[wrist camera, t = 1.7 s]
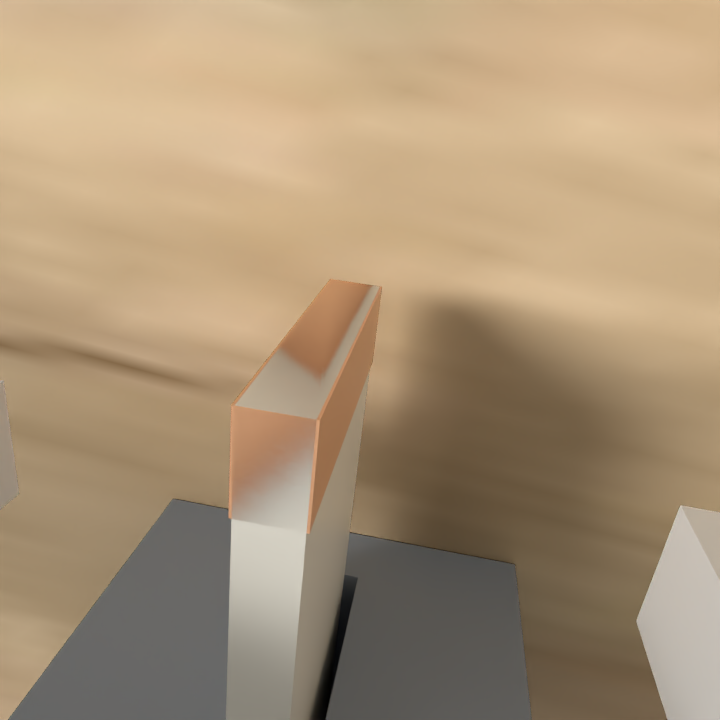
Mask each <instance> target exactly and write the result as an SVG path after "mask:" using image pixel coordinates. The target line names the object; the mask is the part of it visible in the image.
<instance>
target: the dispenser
mask: <svg viewBox="0 0 720 720" xmlns="http://www.w3.org/2000/svg"><path fill="white" fill-rule="evenodd" d="M228 513H229V509H223V508H218V507H213V506H208V505H203V504H197V503H192V502H187V501H182V500H176V499H173V500H172V501H171V502H170V504H169V505H168V506H167V508H166V509H165V510H164V512H163V513H162V514H161V516H160V517H159V518H158V520H157V521H156V522H155V524H154V525H153V526H152V528H151V529H150V530H149V532H148V533H147V534H146V536H145V537H144V538H143V540H142V541H141V542H140V544H139V545H138V546H137V548H136V549H135V550H134V552H133V553H132V554H131V556H130V557H129V558H128V560H127V561H126V562H125V564H124V565H123V566H122V568H121V569H120V570H119V572H118V573H117V575H116V576H115V577H114V579H113V580H112V581H111V583H110V584H109V585H108V587H107V588H106V589H105V591H104V592H103V593H102V595H101V596H100V597H99V599H98V600H97V601H96V603H95V604H94V605H93V607H92V608H91V609H90V611H89V612H88V613H87V615H86V616H85V617H84V619H83V620H82V621H81V623H80V624H79V625H78V627H77V628H76V629H75V631H74V632H73V633H72V635H71V636H70V637H69V639H68V640H67V641H66V643H65V644H64V645H63V647H62V648H61V649H60V651H59V652H58V653H57V655H56V656H55V658H54V659H53V660H52V662H51V663H50V664H49V666H48V667H47V668H46V670H45V671H44V672H43V674H42V675H41V676H40V678H39V679H38V680H37V682H36V683H35V684H34V686H33V687H32V688H31V690H30V691H29V692H28V694H27V695H26V696H25V698H24V699H23V700H22V702H21V703H20V704H19V706H18V707H17V708H16V710H15V711H14V712H13V714H12V715H11V716H10V718H9V719H8V720H226V698H227V662H228V626H229V589H230V553H231V519H230V518H228ZM326 720H532V717H531V708H530V699H529V689H528V680H527V671H526V662H525V652H524V643H523V634H522V625H521V615H520V606H519V597H518V588H517V578H516V569H515V564H510V563H505V562H500V561H494V560H489V559H484V558H479V557H474V556H468V555H463V554H458V553H453V552H447V551H442V550H437V549H432V548H427V547H421V546H416V545H411V544H406V543H401V542H395V541H390V540H385V539H380V538H375V537H369V536H364V535H359V534H354V533H349V542H348V550H347V558H346V566H345V574H344V582H343V590H342V598H341V606H340V614H339V622H338V631H337V639H336V647H335V655H334V663H333V671H332V679H331V687H330V695H329V703H328V711H327V716H326Z"/></svg>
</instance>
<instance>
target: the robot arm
mask: <svg viewBox="0 0 720 720" xmlns="http://www.w3.org/2000/svg"><path fill="white" fill-rule="evenodd" d="M18 494H19V487H18V480H17V473H16V466H15V458H14V451H13V444H12V437H11V429H10V422H9V415H8V408H7V400H6V393H5V386H4V381H2V380H0V510H1V509H2V508H3V507H4V506H5V505H7V504H8V503H9V502H10V501H11V500H13V499H14V498H15V497H16V496H17V495H18ZM636 622H637V625H638V629H639V632H640V635H641V638H642V641H643V644H644V647H645V651H646V654H647V657H648V660H649V663H650V666H651V670H652V673H653V676H654V679H655V682H656V685H657V689H658V692H659V695H660V698H661V701H662V704H663V708H664V711H665V714H666V717H667V720H720V512H715V511H710V510H705V509H699V508H694V507H688V506H683V505H680V507H679V510H678V513H677V515H676V518H675V520H674V523H673V526H672V528H671V531H670V534H669V536H668V539H667V541H666V544H665V547H664V549H663V552H662V555H661V557H660V560H659V562H658V565H657V568H656V570H655V573H654V575H653V578H652V581H651V583H650V586H649V589H648V591H647V594H646V596H645V599H644V602H643V604H642V607H641V609H640V612H639V615H638V617H637V620H636Z"/></svg>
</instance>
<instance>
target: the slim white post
mask: <svg viewBox="0 0 720 720" xmlns="http://www.w3.org/2000/svg"><path fill="white" fill-rule="evenodd" d="M381 291H382V287H380V286H373V285H366V284H360V283H353V282H346V281H340V280H333V279H330V280H329V281H328V283H327V284H326V285H325V286H324V288H323V289H322V290H321V291H320V293H319V294H318V295H317V297H316V298H315V299H314V300H313V302H312V303H311V304H310V305H309V307H308V308H307V309H306V311H305V312H304V313H303V314H302V316H301V317H300V318H299V319H298V321H297V322H296V323H295V324H294V326H293V327H292V328H291V330H290V331H289V332H288V333H287V335H286V336H285V337H284V338H283V340H282V341H281V342H280V344H279V345H278V346H277V347H276V349H275V350H274V351H273V352H272V354H271V355H270V356H269V358H268V359H267V360H266V361H265V363H264V364H263V365H262V366H261V368H260V369H259V370H258V371H257V373H256V374H255V375H254V377H253V378H252V379H251V380H250V382H249V383H248V384H247V385H246V387H245V388H244V389H243V391H242V392H241V393H240V394H239V396H238V397H237V398H236V399H235V401H234V402H233V403H232V405H231V434H230V474H229V513H228V518H230V519H231V553H230V589H229V626H228V662H227V698H226V720H326V716H327V711H328V703H329V695H330V687H331V679H332V671H333V663H334V655H335V647H336V639H337V631H338V622H339V614H340V606H341V598H342V590H343V582H344V574H345V566H346V558H347V550H348V542H349V533H350V525H351V517H352V509H353V501H354V493H355V485H356V477H357V469H358V461H359V453H360V444H361V436H362V428H363V420H364V412H365V404H366V396H367V388H368V380H369V372H370V367H371V365H372V362H373V355H374V347H375V339H376V331H377V323H378V315H379V307H380V299H381Z"/></svg>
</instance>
